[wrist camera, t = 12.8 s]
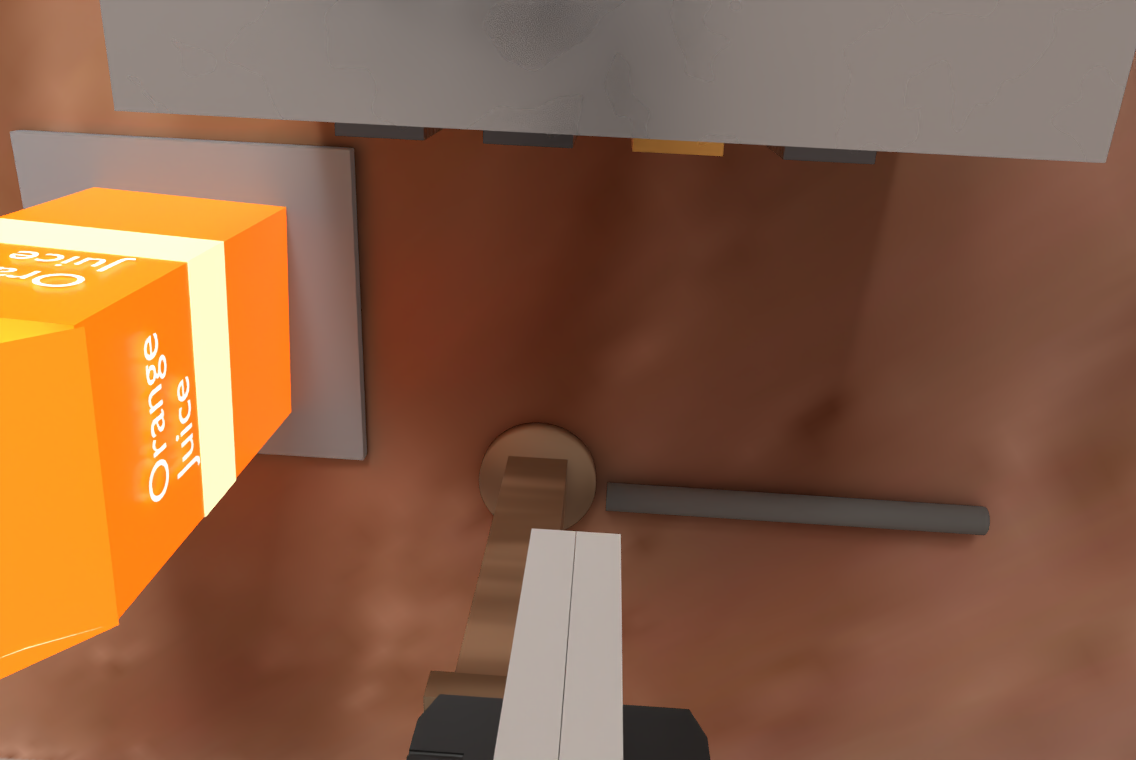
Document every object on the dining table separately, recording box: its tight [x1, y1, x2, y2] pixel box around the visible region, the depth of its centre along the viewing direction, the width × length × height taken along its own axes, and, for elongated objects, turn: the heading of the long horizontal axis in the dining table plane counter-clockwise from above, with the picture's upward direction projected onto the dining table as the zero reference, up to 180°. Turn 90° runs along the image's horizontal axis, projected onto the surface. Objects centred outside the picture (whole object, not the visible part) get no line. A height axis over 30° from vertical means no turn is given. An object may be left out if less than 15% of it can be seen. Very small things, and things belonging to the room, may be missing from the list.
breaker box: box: [100, 0, 1136, 164], centre depth 25 cm, size 7×22×14 cm, turn 87°
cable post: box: [423, 423, 596, 712], centre depth 31 cm, size 5×5×16 cm
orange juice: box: [0, 187, 291, 679], centre depth 27 cm, size 8×9×20 cm
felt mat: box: [10, 130, 367, 460], centre depth 36 cm, size 13×13×1 cm
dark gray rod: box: [606, 483, 990, 535], centre depth 38 cm, size 1×16×1 cm, turn 87°
